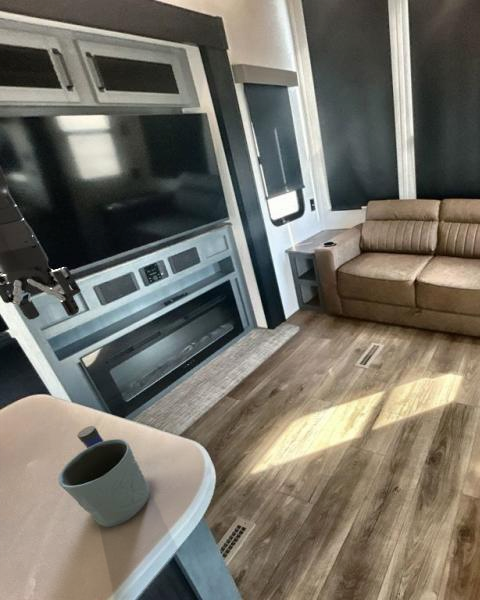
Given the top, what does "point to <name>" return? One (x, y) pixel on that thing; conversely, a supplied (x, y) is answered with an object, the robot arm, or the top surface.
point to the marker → (89, 436)
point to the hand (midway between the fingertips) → (54, 315)
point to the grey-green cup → (106, 482)
